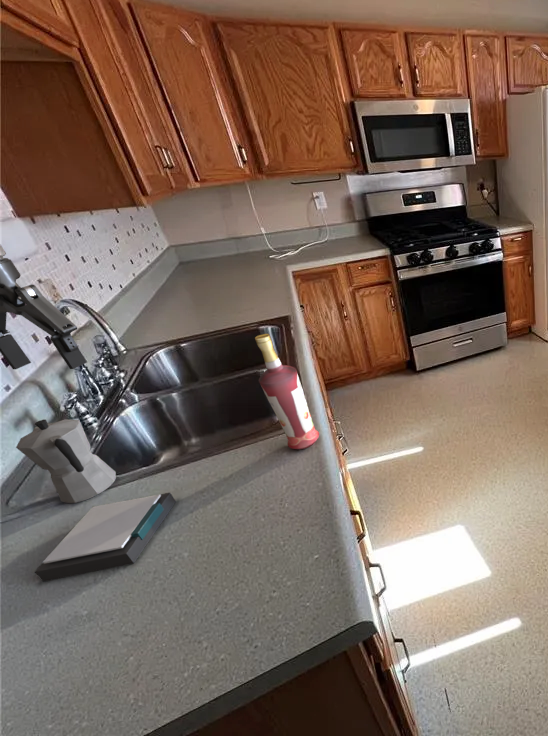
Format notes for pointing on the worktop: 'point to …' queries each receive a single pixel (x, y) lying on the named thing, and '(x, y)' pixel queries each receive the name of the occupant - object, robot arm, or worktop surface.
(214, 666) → the worktop surface
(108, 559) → the scale
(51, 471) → the coffeepot
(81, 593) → the worktop surface
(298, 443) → the liquor
